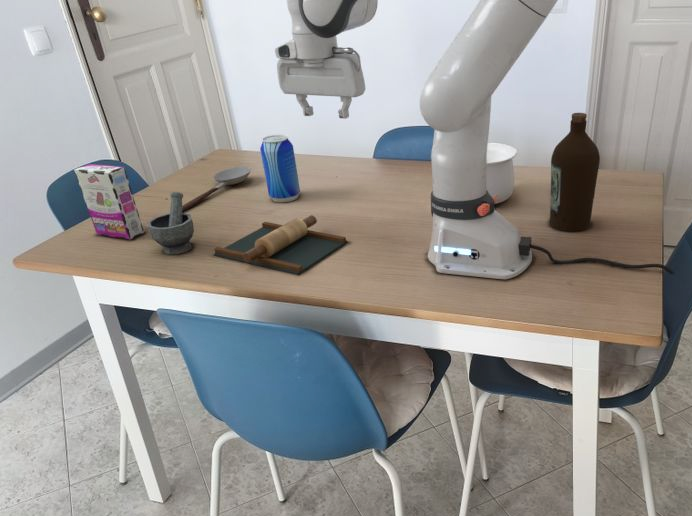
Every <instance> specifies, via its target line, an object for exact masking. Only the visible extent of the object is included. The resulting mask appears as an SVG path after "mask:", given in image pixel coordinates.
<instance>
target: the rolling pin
mask: <svg viewBox="0 0 692 516" xmlns="http://www.w3.org/2000/svg"><path fill="white" fill-rule="evenodd" d="M317 222H318V220H317V218H316V216H314V215H312V214H311V215H309V216H307V217H305V218H303V219H301V218H299V217H296V218H294V219H292V220H290V221H288V222H286V223H285V224H282V225H283V226H281V227H279V228H277V229H276V230H274V231H272V232H270V233H268V234H267V235H265V236H263V237H261V238H259V239H258V240H256V242H255V247H254V248H252V249H251V250H249V251H247V252H245V253H244V254H243V258H244V260H245V261H246V262H248V263H247V264H249V262H251V261H253V260H255V259H256V258H258V257H260V256H261V257H266V258H268V257H270V256H272V255H273V254H275V253H277V252H278V251H280V250H282V249H283V248H285V247H287V246H288V245H290V244H292V243H293V242H295V241H297V240H298V239H300V238H302V237H304V236H305V235H306V234H307V231H308V230H309V228H311V227H313V226H314V225H316V224H317Z"/></svg>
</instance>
